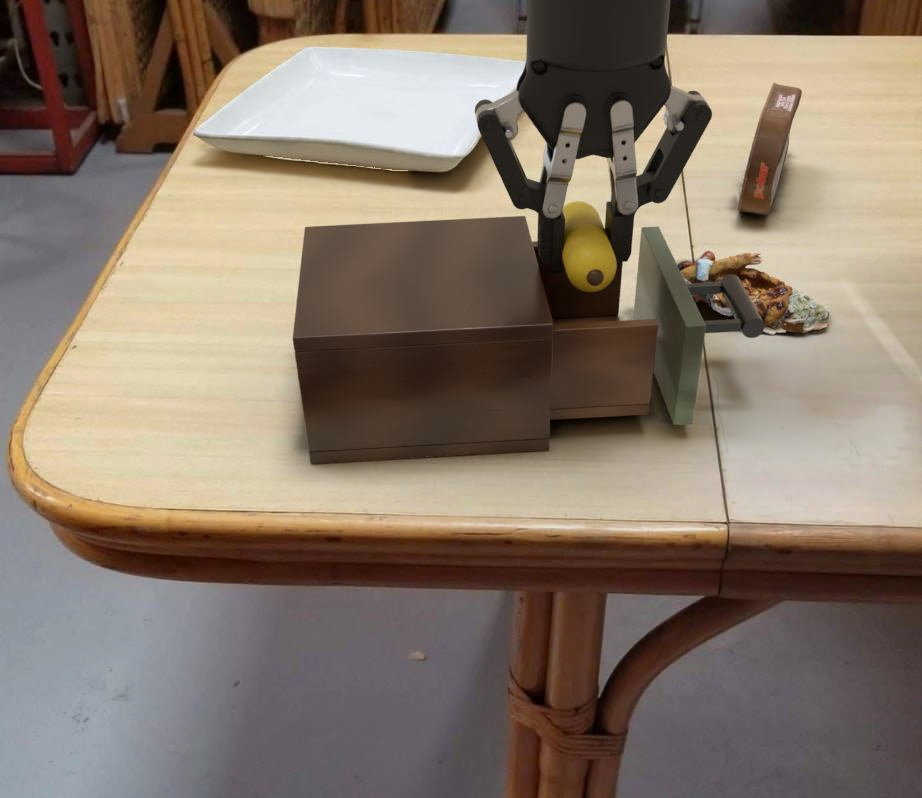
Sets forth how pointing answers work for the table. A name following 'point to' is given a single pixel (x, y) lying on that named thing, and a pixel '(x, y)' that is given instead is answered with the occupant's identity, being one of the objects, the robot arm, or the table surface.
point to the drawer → (635, 337)
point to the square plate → (364, 108)
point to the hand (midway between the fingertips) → (583, 266)
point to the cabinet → (422, 340)
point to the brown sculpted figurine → (757, 293)
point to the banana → (587, 248)
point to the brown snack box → (769, 150)
